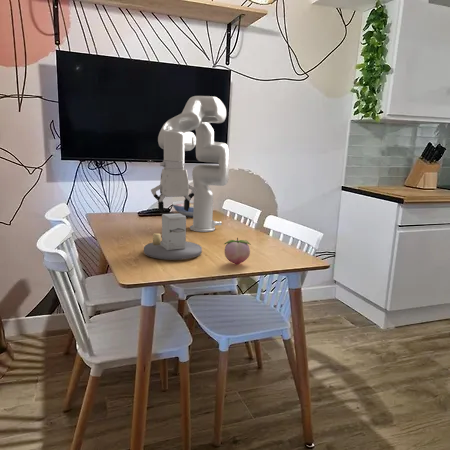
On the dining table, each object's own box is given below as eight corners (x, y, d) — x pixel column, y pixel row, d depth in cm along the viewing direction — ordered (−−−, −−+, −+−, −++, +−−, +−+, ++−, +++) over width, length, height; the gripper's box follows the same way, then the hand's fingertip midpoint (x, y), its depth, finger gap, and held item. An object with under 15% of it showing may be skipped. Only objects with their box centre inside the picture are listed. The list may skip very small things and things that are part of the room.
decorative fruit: (246, 260, 149) (247, 234, 147) (251, 267, 141) (252, 240, 139) (221, 261, 148) (222, 234, 146) (225, 268, 140) (226, 240, 138)
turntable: (168, 241, 169) (168, 228, 168) (212, 250, 158) (212, 236, 157) (131, 252, 150) (131, 238, 149) (178, 263, 139) (178, 248, 138)
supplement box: (167, 250, 149) (167, 217, 147) (161, 245, 156) (161, 213, 153) (186, 249, 153) (186, 216, 150) (179, 244, 159) (179, 212, 156)
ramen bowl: (168, 212, 241) (168, 198, 239) (206, 212, 247) (206, 198, 246) (174, 220, 218) (175, 205, 216) (215, 220, 224) (216, 205, 222)
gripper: (153, 166, 141) (153, 214, 145) (199, 166, 148) (199, 211, 152) (148, 164, 148) (149, 210, 152) (193, 164, 154) (192, 208, 158)
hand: (174, 211), depth 152 cm, fingers open, 9 cm apart
